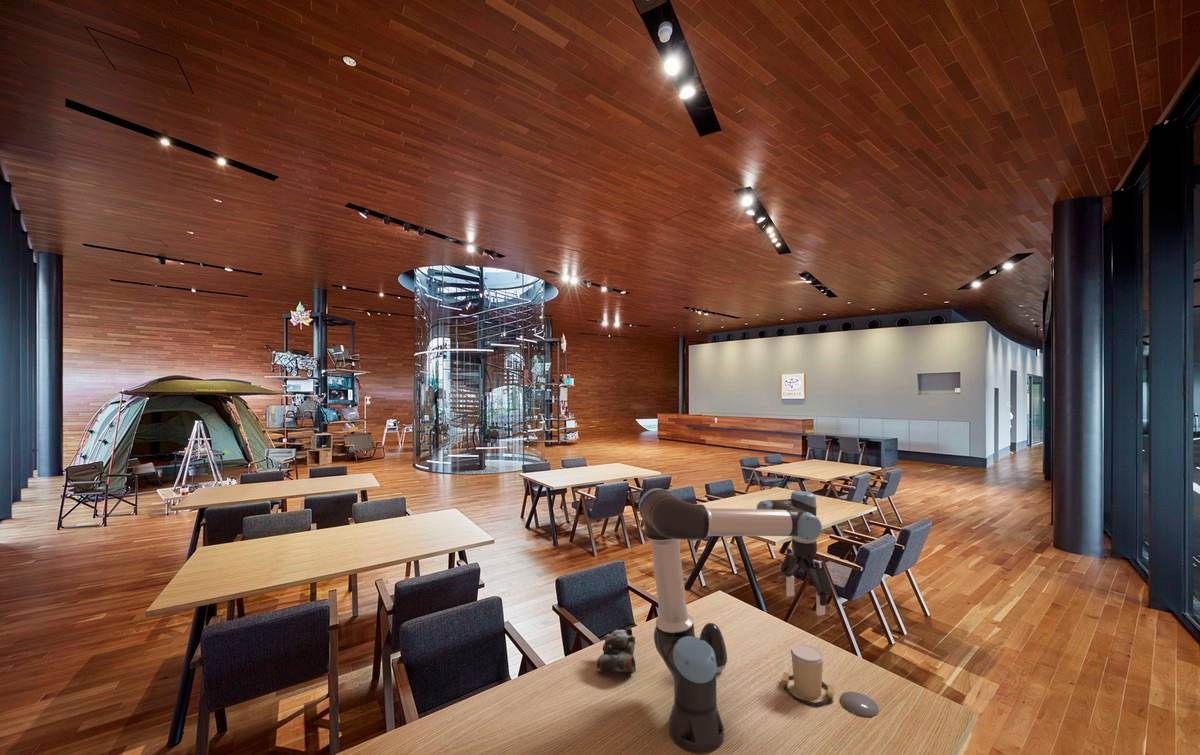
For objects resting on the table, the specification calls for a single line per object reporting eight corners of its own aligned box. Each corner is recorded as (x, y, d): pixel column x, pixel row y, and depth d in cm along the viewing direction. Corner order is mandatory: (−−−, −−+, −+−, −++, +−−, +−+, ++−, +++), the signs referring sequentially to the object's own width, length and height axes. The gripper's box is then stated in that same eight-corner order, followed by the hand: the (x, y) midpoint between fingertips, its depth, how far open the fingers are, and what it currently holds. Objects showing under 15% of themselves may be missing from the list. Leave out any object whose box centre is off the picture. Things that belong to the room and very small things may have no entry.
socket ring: (805, 710, 135) (804, 701, 136) (774, 681, 149) (774, 673, 149) (843, 700, 139) (843, 692, 139) (810, 672, 153) (809, 665, 153)
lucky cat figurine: (588, 670, 156) (592, 624, 163) (613, 671, 162) (616, 627, 169) (618, 676, 146) (621, 626, 153) (644, 677, 152) (646, 629, 159)
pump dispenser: (690, 668, 156) (689, 623, 157) (708, 656, 163) (707, 613, 163) (715, 682, 149) (714, 635, 149) (733, 669, 156) (732, 624, 156)
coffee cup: (817, 681, 148) (816, 644, 149) (829, 701, 139) (828, 661, 139) (787, 680, 149) (787, 643, 150) (797, 699, 140) (796, 660, 140)
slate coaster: (859, 720, 131) (859, 717, 131) (832, 697, 141) (832, 695, 141) (886, 712, 134) (886, 710, 134) (858, 690, 144) (858, 688, 144)
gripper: (844, 551, 139) (845, 621, 139) (787, 527, 163) (787, 587, 163) (824, 554, 137) (825, 625, 137) (769, 529, 161) (770, 590, 160)
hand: (805, 604), depth 150 cm, fingers open, 13 cm apart
